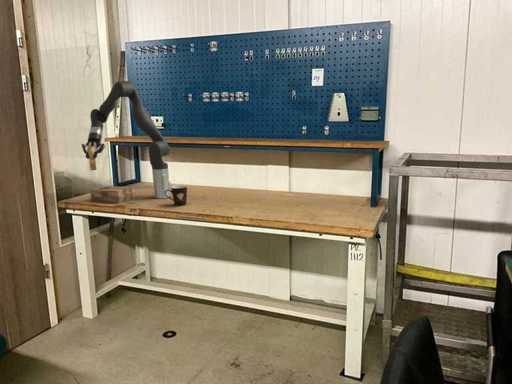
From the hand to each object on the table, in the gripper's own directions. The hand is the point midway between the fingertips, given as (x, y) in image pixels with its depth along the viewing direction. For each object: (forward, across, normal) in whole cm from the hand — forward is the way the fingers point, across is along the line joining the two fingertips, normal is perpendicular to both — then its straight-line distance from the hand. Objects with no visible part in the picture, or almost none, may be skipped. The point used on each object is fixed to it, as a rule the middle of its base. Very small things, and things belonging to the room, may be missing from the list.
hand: (91, 157), depth 245 cm
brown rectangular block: (+23, +12, +11) cm, 28 cm away
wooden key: (+4, 0, +7) cm, 8 cm away
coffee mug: (+37, +53, -3) cm, 65 cm away
